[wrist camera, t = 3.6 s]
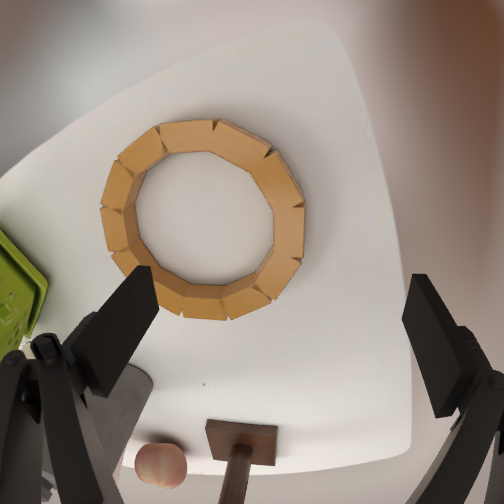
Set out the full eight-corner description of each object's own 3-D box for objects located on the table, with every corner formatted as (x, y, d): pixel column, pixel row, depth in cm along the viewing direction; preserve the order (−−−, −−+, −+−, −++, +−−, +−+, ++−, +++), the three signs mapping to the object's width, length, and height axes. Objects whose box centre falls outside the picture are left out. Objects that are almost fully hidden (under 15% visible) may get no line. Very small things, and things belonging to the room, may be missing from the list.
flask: (139, 358, 34) (60, 504, 16) (160, 391, 36) (100, 530, 18) (57, 358, 38) (-17, 461, 20) (78, 387, 40) (15, 489, 22)
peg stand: (277, 426, 36) (264, 529, 23) (275, 457, 40) (264, 544, 27) (207, 419, 38) (178, 515, 25) (215, 451, 41) (193, 534, 28)
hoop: (305, 116, 21) (305, 117, 20) (300, 309, 28) (299, 325, 26) (104, 130, 24) (89, 134, 22) (132, 298, 31) (122, 311, 29)
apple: (141, 443, 44) (125, 481, 37) (149, 424, 41) (131, 467, 33) (186, 461, 44) (173, 500, 37) (199, 445, 41) (186, 489, 34)
